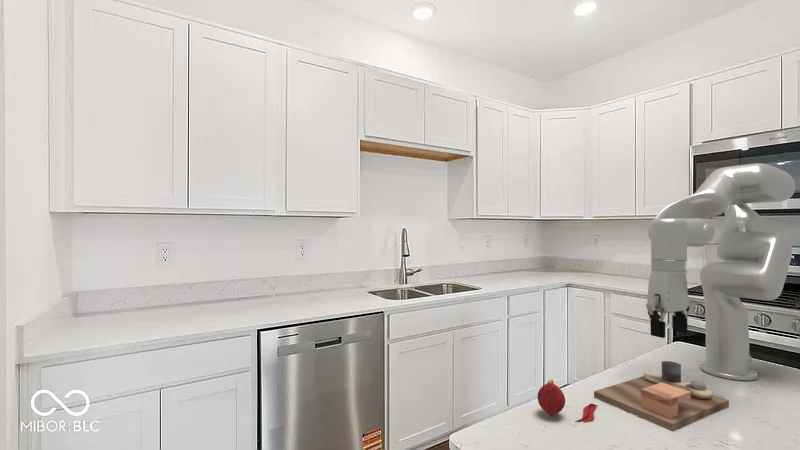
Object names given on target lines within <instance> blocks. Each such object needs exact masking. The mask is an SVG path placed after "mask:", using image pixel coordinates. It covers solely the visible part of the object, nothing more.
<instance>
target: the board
mask: <svg viewBox="0 0 800 450" xmlns="http://www.w3.org/2000/svg"><path fill="white" fill-rule="evenodd" d="M690 383H691V386H692V387H693V388H696V389H706V387H707V384H706V383H705V382H703V381H701V380H691V381H690ZM655 384H658V383H656V382H653V381H650V380H647V379H644V375H643V376H640V377H636V378H632V379H629V380H626V381H623V382H620V383H616V384H614V385H611V386H607V387H604V388H599V389H597V390H594V391H593V398H595V399H597V400H599V401H602V402H604V403H606V404H609V405H611V406H612V407H613V406H614V407H615V408H618V409H620V410H622V411H625V412H628V413H629V414H632V415H634V416H636V417H639V418H641V419H644V420H646V421H648V422H649V423H650V422H651V423H653V424H655V425H657V426H660V427H662V428H664V429H666V430H669V431H671V432H674V431H676V430H679V429H681V428H683V427H686V426H688V425H690V424H692V423H695V422H698V421H699V420H702V419H704V418H706V417H709V416H710V415H711V416H712V415H713V414H715V413H718V412H720V411H722V410H724V409H726V408H729V407H730V400H729V399H727V398H724V397H721V396H717V395H714V394H712V398H711V399H700V398H695V397H692V396H691V399H689V400H686V401H683V402H681V403H678V416H675V417H673V418H668V417H665V416H663V415H661V414H658V413H656V412H653V411H651V410H648V409H646V408H643V407H642V399H641V389H643V388H646V387H649V386H652V385H655Z"/></svg>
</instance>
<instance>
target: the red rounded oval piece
mask: <svg viewBox="0 0 800 450" xmlns="http://www.w3.org/2000/svg"><path fill="white" fill-rule="evenodd" d="M537 402H538V405H539V407H540V409H542V410H543V411H544V412H545V413H546V414H548V415H549V416H551V417H553V416H555V415H557V414H559V413H560V412H562V410H563V409H564V407H565V406H566V405H565V404H566V397H565V394H564V392H563V390H562V389H561V388H560V387H559V386H558V385H556V384H555V383H554V379H553V378H550V379H548V382H547V383H545V384H543V385H542V386H541V387H540V388H539V390H538V392H537Z"/></svg>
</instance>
